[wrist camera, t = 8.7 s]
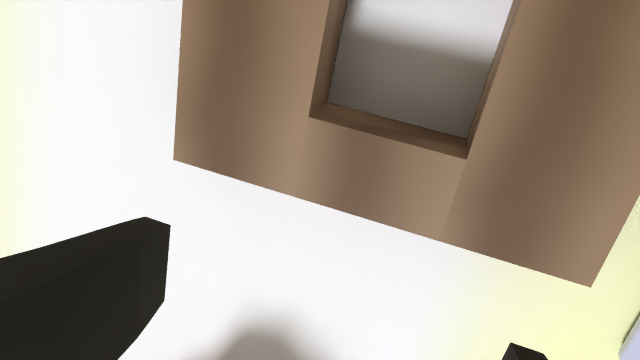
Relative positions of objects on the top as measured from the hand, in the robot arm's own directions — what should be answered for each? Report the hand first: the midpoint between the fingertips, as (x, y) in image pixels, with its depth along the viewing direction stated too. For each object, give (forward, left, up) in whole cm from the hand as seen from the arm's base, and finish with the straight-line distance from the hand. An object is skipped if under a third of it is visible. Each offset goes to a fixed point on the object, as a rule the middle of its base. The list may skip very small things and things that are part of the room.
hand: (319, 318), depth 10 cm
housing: (0, -4, -10) cm, 11 cm away
